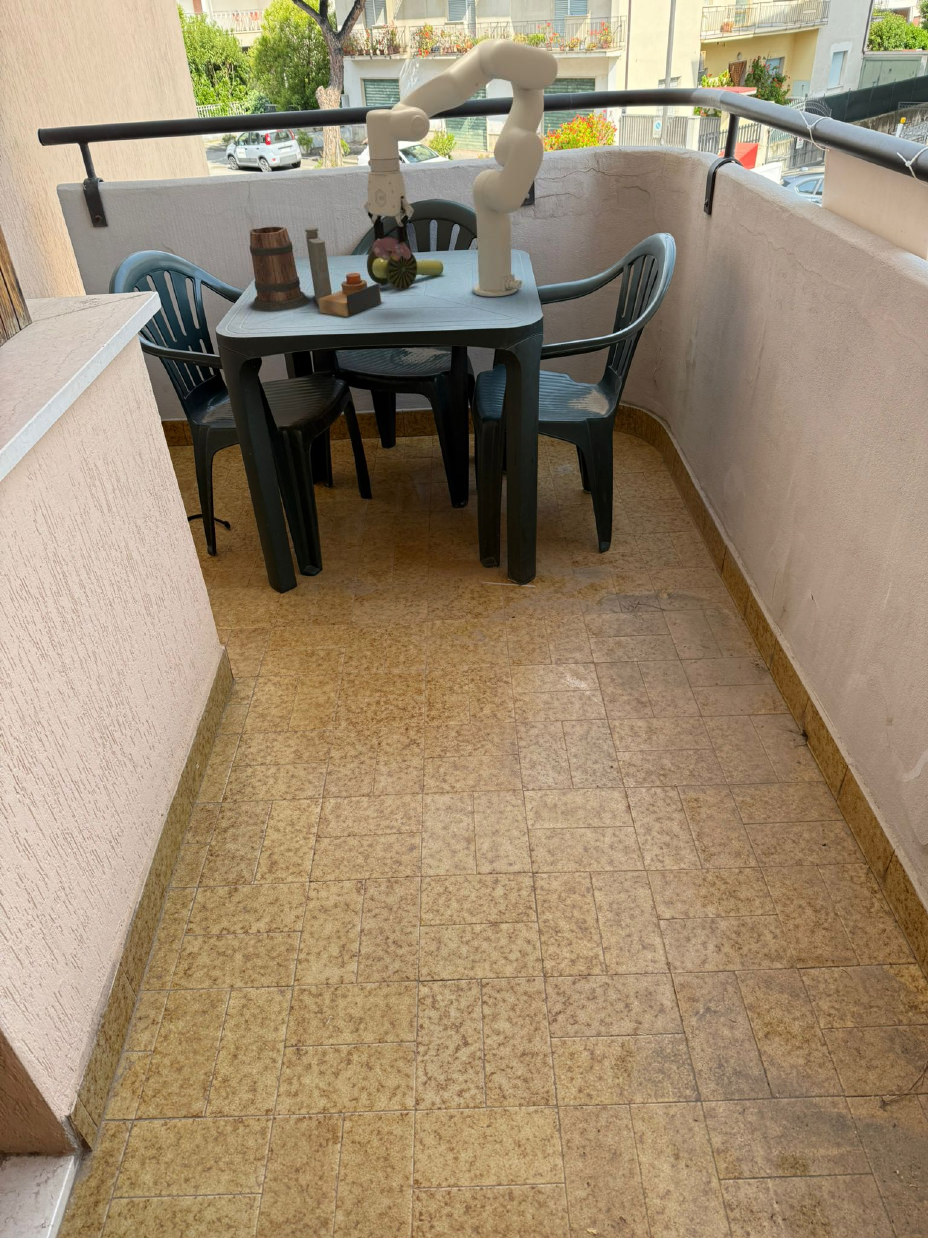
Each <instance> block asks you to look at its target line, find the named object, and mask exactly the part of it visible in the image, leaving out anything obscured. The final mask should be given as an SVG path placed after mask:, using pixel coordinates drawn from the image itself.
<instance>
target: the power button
mask: <svg viewBox="0 0 928 1238" xmlns="http://www.w3.org/2000/svg"><path fill="white" fill-rule="evenodd" d="M345 278H346V281H347V284H349V285H355V284H360V283H361V280H362V277H361V274H360V273H359V272H351V273H347V274H345Z"/></svg>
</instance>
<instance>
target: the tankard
mask: <svg viewBox="0 0 928 1238" xmlns="http://www.w3.org/2000/svg"><path fill="white" fill-rule="evenodd" d="M293 249H294V246H293V242H292V241H291V238H290V235H289V232H288V229H287V227H284V226H283V227H282V226H275V225H274V226H263V227H260V228H253V229H250V230H249V252H250V254H251V262H252V268H253V274H254V282H253V283H254V289H255V290H256V296H255V297H254V298H253V299H254V300H253V303H252V304H251V308H252V309H254V310H256V311H261V312H281V311H289V310H294V309H297V308H300V307H303V306H305V305H307V304H308V303H309V302H310V298H308V297H307V296H306V294H305V292H303V291H302V289H301V281H300V277H299V276H298V271H297V265H296V260H295V256H294V251H293Z"/></svg>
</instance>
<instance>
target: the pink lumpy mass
mask: <svg viewBox="0 0 928 1238" xmlns="http://www.w3.org/2000/svg"><path fill="white" fill-rule="evenodd" d="M371 250H373V252H374V253H375V255H376V256H377V257H379V258H380V257H381V258H382V259H383V260H388V258H389V256H390V254H389V252H388V251H393V253H392V256H391V257H392V259H393V260H395V261H398V260H399V259H400V256H403V257H404V258H406V259H410V257H411V253H412V252H411V250H410V249H409V247H408V245H407V244H406V243H405V242H402V243H399V242H398V239H395V238H393V237H384V238H383V239H377V240H375V241H374V242H373V244H372V245H371ZM410 252H411V253H410Z"/></svg>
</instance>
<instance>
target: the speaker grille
mask: <svg viewBox="0 0 928 1238" xmlns="http://www.w3.org/2000/svg"><path fill="white" fill-rule="evenodd" d="M379 290H380V284H378V283H375V284H373V285H370V286H367V288H364V289H362V290H359V291H356V292H354V293H351V294H348V295H346V297H347V305H348V313H349V315H350V316H352V315H351V314H353V315H355V314H357V313H356V312H358V313H360V312H362V311H361V310H363V311H365V310H367V309H366V308H368V309H370V308H372V307H371V306H373V307H375V306H377V305H376V304H378V305H380V304H379V303H381V304H382V301H381V302H380V295H381V292H380V293H379ZM374 305H375V306H374ZM369 307H370V308H369ZM364 309H365V310H364ZM359 311H360V312H359ZM354 313H355V314H354Z"/></svg>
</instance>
